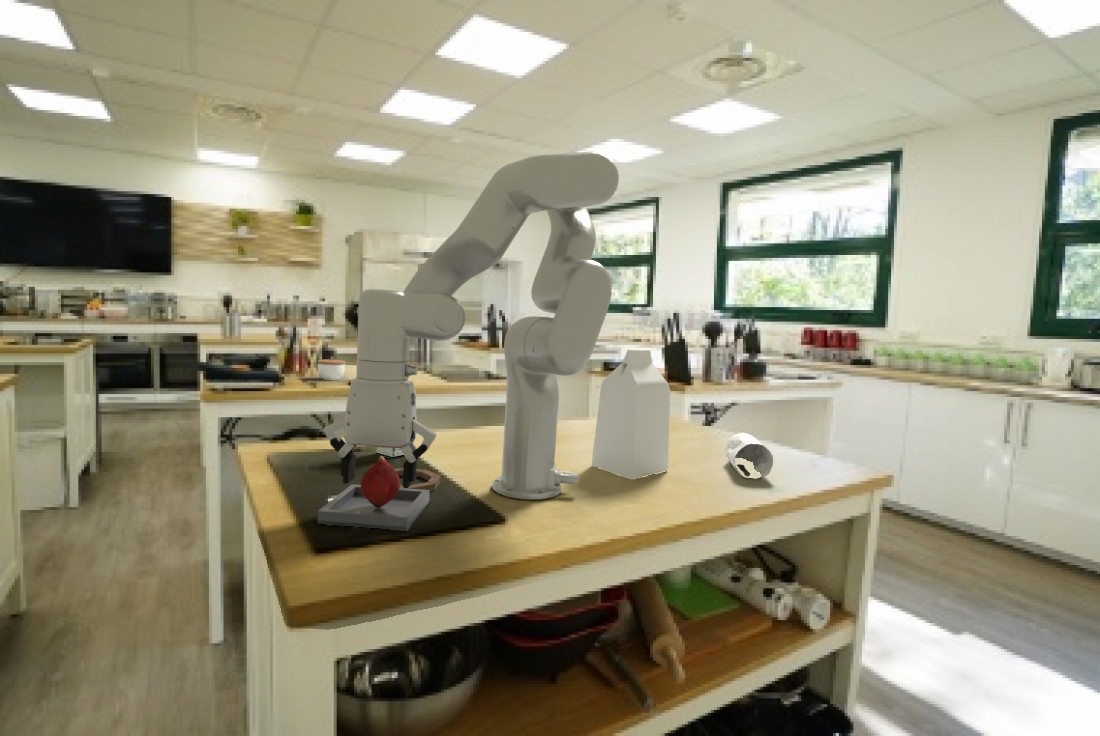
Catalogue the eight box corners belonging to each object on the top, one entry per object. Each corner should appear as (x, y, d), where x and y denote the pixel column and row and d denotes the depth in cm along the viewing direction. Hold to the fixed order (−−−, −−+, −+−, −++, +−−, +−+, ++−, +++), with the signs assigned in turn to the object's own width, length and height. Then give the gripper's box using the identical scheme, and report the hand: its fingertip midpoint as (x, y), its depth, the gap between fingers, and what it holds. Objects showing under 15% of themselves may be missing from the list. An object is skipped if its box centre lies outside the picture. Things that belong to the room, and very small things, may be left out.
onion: (405, 507, 90) (409, 456, 90) (380, 515, 84) (384, 461, 84) (376, 501, 92) (380, 451, 92) (350, 508, 87) (354, 455, 87)
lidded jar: (312, 378, 234) (312, 355, 233) (336, 377, 242) (337, 355, 241) (325, 381, 227) (326, 358, 226) (350, 380, 235) (350, 357, 234)
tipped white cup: (752, 461, 140) (755, 429, 139) (771, 482, 121) (775, 445, 120) (718, 457, 141) (722, 426, 140) (732, 478, 122) (736, 441, 121)
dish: (429, 501, 95) (429, 490, 94) (407, 531, 82) (407, 517, 81) (351, 496, 95) (351, 484, 95) (317, 524, 82) (317, 511, 82)
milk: (631, 479, 116) (641, 352, 113) (591, 466, 124) (600, 347, 122) (667, 471, 124) (678, 352, 121) (627, 459, 132) (636, 347, 130)
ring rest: (444, 477, 109) (445, 471, 109) (429, 496, 97) (430, 490, 97) (382, 472, 109) (382, 466, 109) (360, 491, 97) (360, 484, 97)
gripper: (444, 373, 90) (439, 480, 91) (336, 365, 90) (332, 472, 92) (433, 378, 82) (428, 495, 84) (315, 370, 83) (311, 486, 84)
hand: (378, 483), depth 88 cm, fingers open, 8 cm apart
